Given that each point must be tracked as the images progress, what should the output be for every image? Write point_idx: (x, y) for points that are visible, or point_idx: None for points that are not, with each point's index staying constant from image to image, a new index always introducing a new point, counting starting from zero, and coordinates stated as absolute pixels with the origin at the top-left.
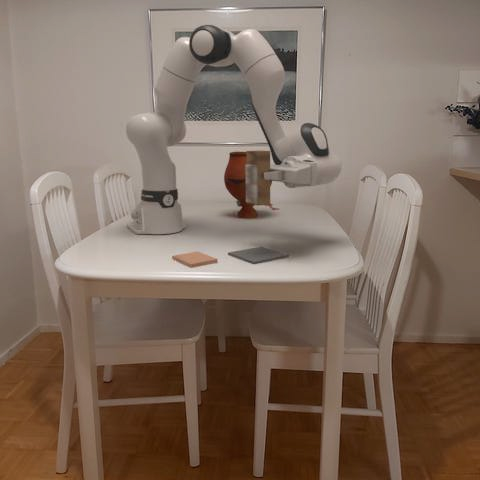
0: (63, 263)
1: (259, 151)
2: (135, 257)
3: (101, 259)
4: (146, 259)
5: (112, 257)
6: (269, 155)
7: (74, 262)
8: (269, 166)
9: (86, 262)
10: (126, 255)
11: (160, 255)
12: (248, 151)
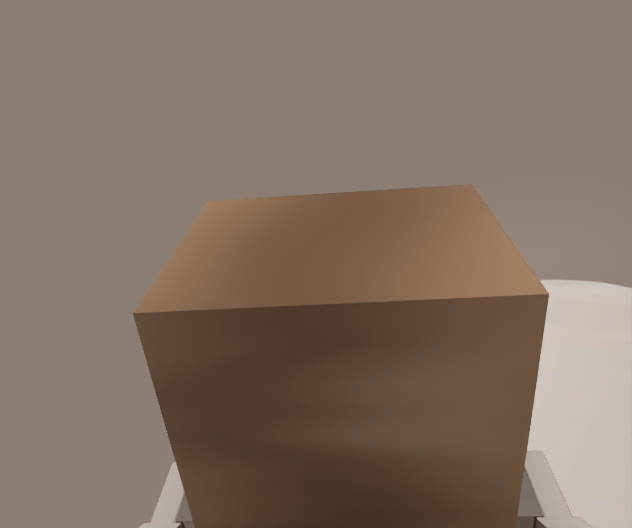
0: (569, 283)
1: (210, 211)
2: (582, 390)
3: (585, 332)
4: (544, 404)
5: (601, 351)
6: (158, 372)
7: (572, 295)
8: (199, 512)
9: (563, 309)
10: (618, 379)
11: (588, 450)
12: (423, 192)
